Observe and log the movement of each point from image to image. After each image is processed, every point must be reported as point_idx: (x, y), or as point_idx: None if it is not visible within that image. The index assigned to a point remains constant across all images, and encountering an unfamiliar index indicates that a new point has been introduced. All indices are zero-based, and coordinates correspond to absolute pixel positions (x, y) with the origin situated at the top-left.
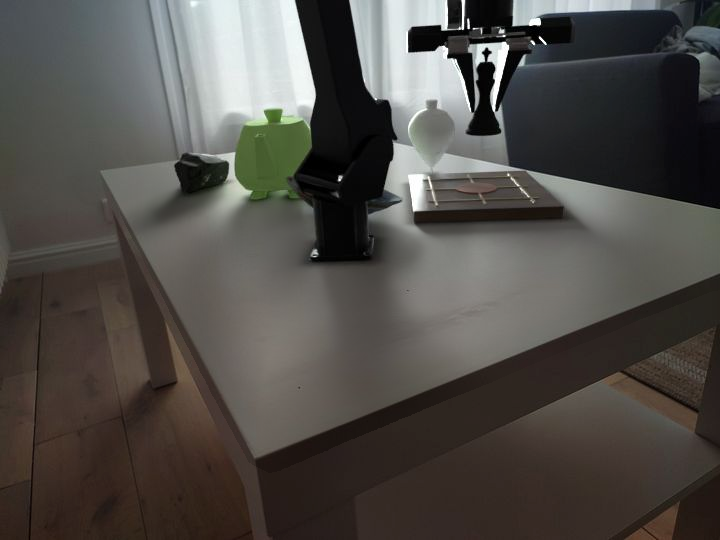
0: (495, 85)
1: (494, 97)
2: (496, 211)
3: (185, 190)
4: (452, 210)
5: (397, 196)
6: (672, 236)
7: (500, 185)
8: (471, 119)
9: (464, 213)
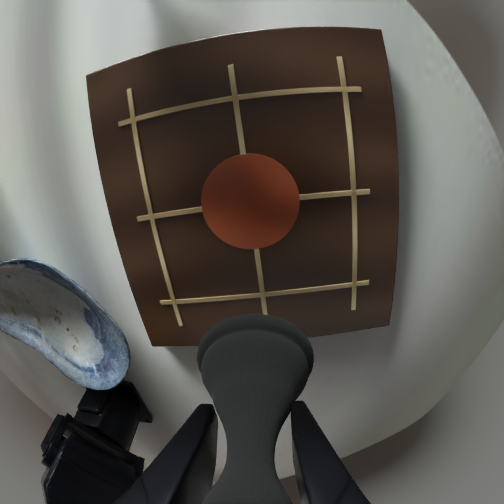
0: (302, 477)
1: (293, 449)
2: None
3: None
4: None
5: (112, 324)
6: (454, 357)
7: (310, 176)
8: (210, 395)
9: None
